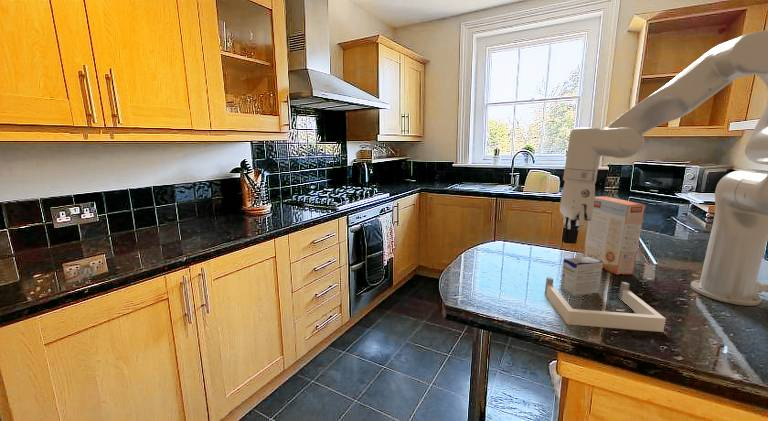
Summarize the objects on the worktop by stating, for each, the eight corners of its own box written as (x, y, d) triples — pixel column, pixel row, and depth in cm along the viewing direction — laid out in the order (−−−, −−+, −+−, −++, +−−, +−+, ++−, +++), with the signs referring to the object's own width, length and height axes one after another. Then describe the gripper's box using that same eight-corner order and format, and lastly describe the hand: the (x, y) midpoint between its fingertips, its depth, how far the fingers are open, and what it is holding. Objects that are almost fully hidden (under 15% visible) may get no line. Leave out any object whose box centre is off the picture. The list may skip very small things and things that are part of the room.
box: (584, 286, 89) (588, 255, 87) (598, 293, 84) (603, 261, 82) (559, 289, 87) (563, 258, 85) (572, 297, 82) (577, 264, 81)
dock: (623, 298, 82) (626, 282, 81) (663, 332, 68) (667, 312, 67) (544, 293, 84) (546, 277, 83) (566, 324, 70) (569, 305, 69)
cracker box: (634, 275, 96) (647, 204, 92) (615, 275, 96) (627, 204, 91) (598, 258, 110) (608, 195, 105) (581, 258, 109) (590, 195, 105)
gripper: (609, 180, 79) (596, 252, 83) (582, 173, 94) (572, 235, 98) (576, 178, 80) (564, 250, 84) (554, 172, 95) (545, 233, 99)
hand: (568, 242), depth 91 cm, fingers closed
